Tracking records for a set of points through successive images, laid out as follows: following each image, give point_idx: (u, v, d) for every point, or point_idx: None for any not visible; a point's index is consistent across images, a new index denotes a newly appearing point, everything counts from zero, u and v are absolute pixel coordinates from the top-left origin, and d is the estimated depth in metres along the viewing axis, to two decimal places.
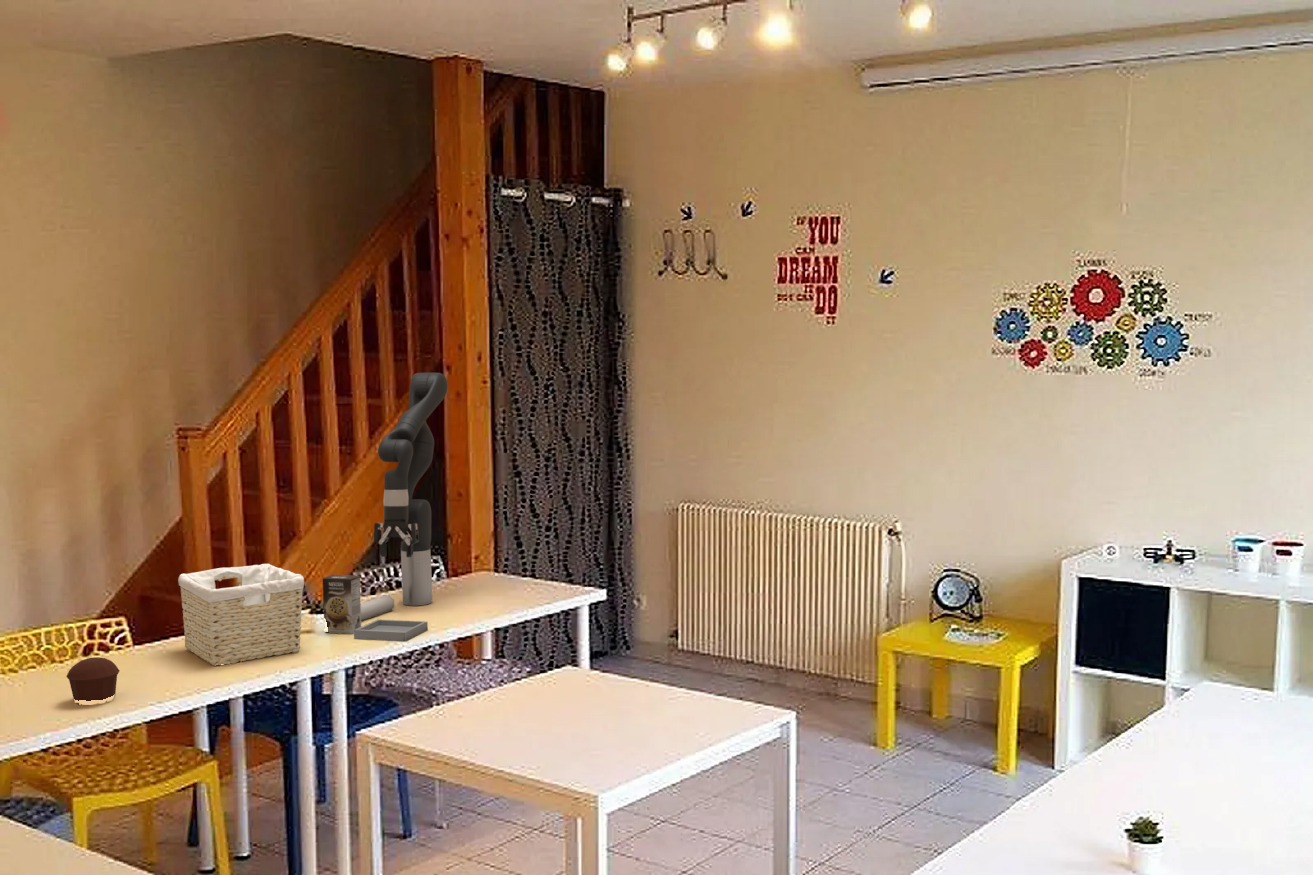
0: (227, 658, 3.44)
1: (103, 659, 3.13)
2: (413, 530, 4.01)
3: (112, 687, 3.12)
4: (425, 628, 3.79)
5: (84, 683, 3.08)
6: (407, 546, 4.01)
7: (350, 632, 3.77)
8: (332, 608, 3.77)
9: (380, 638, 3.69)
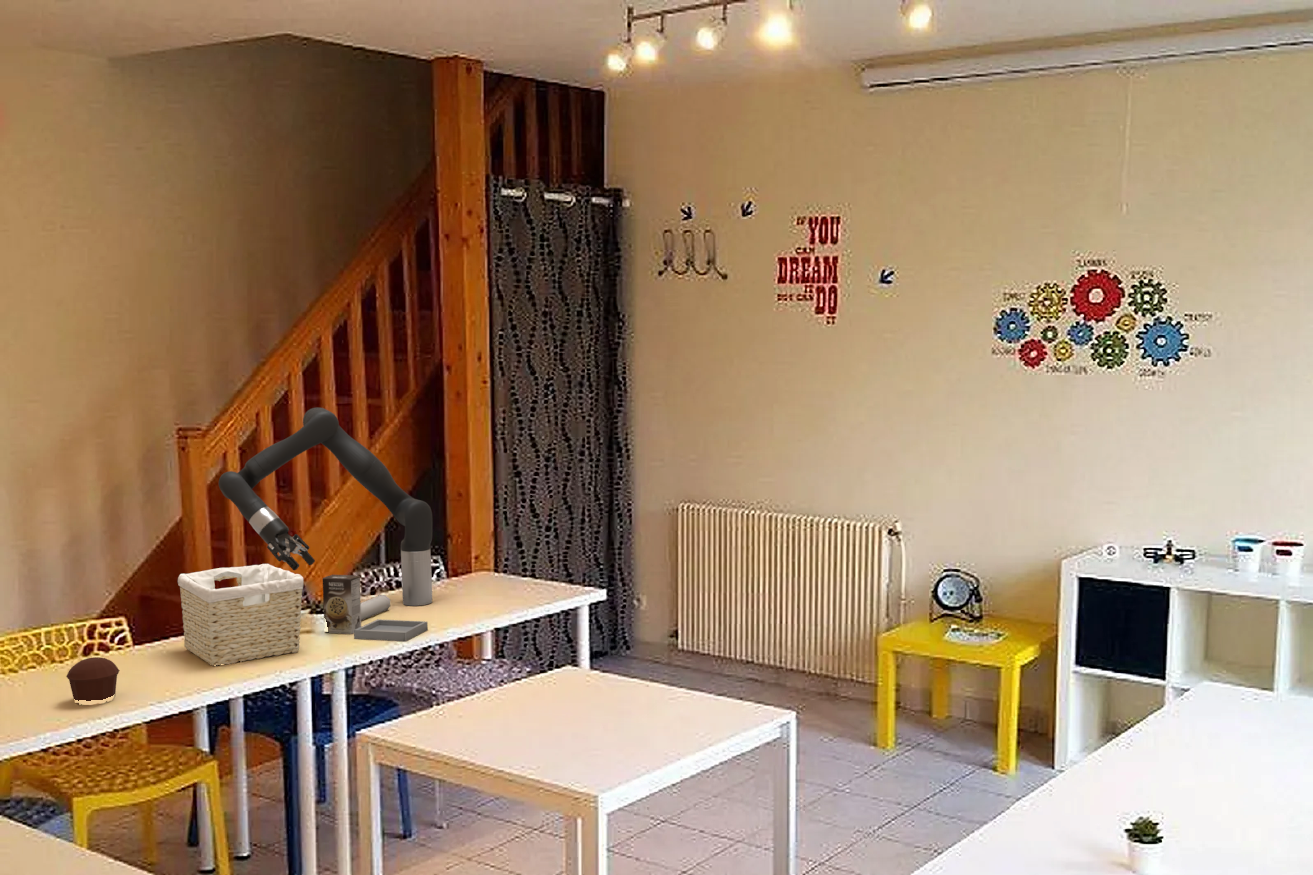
0: (226, 658, 3.44)
1: (103, 659, 3.13)
2: None
3: (112, 687, 3.12)
4: (425, 628, 3.79)
5: (84, 683, 3.08)
6: None
7: (350, 632, 3.77)
8: (332, 608, 3.77)
9: (380, 638, 3.69)
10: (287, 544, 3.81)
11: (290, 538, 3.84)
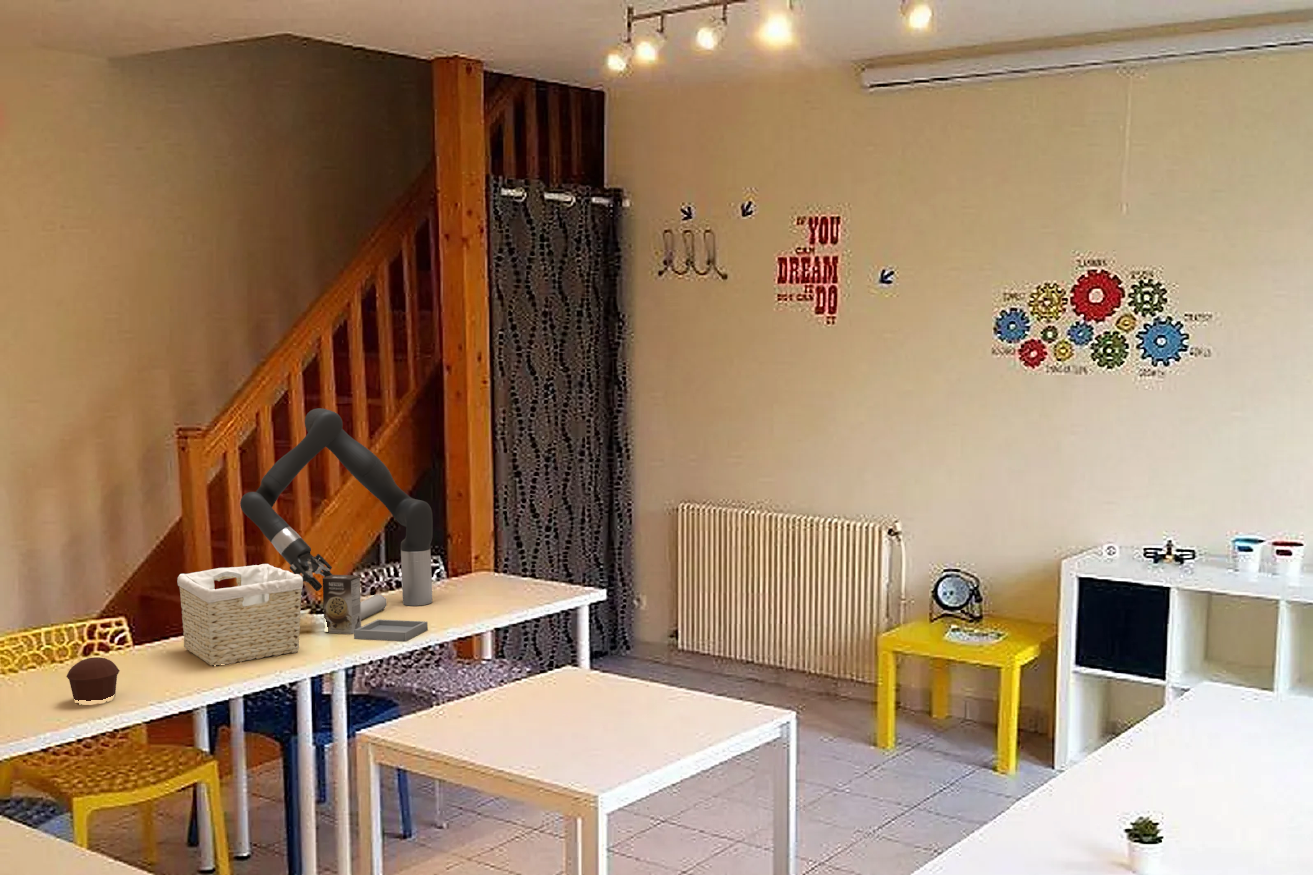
0: (226, 658, 3.44)
1: (103, 659, 3.13)
2: None
3: (112, 687, 3.12)
4: (425, 628, 3.79)
5: (84, 683, 3.08)
6: None
7: (350, 632, 3.77)
8: (332, 608, 3.77)
9: (380, 638, 3.69)
10: (309, 564, 3.79)
11: (312, 558, 3.83)
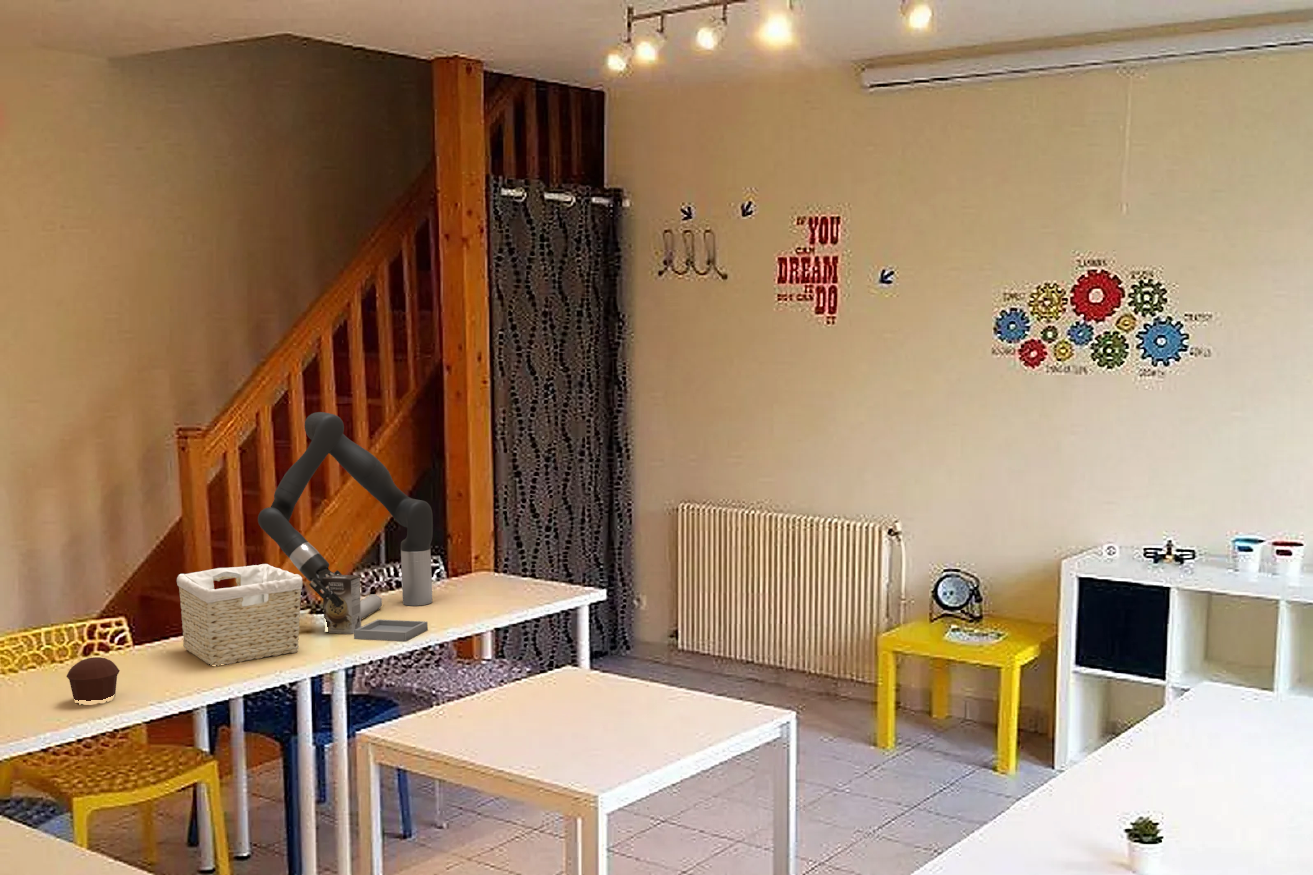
0: (225, 658, 3.44)
1: (103, 659, 3.13)
2: None
3: (112, 687, 3.12)
4: (425, 628, 3.79)
5: (84, 683, 3.08)
6: None
7: (350, 632, 3.77)
8: (332, 608, 3.77)
9: (380, 638, 3.69)
10: None
11: (331, 574, 3.81)
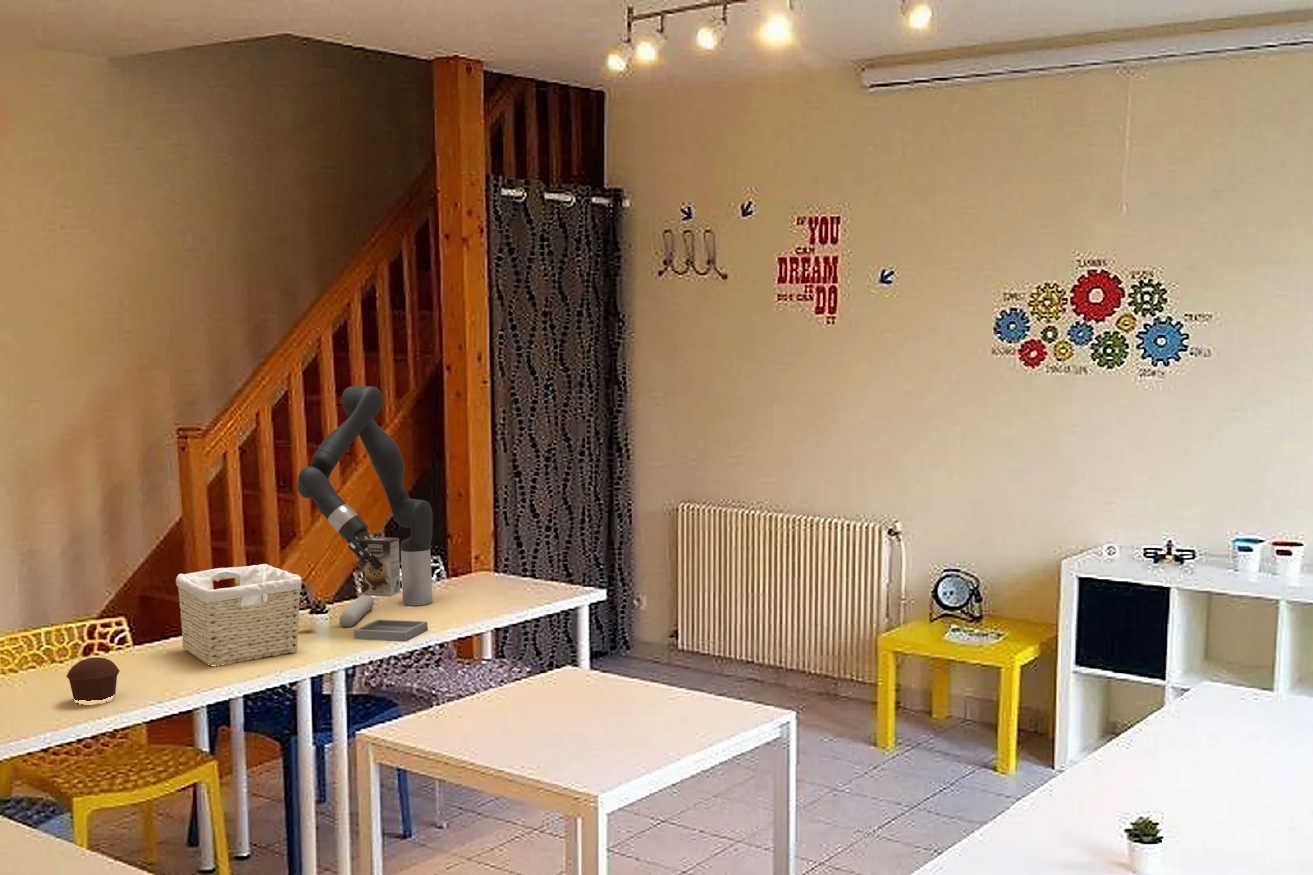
0: (224, 659, 3.44)
1: (103, 659, 3.13)
2: None
3: (112, 687, 3.12)
4: (425, 628, 3.79)
5: (84, 683, 3.08)
6: None
7: (389, 595, 3.71)
8: (371, 570, 3.72)
9: (380, 638, 3.69)
10: None
11: (369, 536, 3.76)
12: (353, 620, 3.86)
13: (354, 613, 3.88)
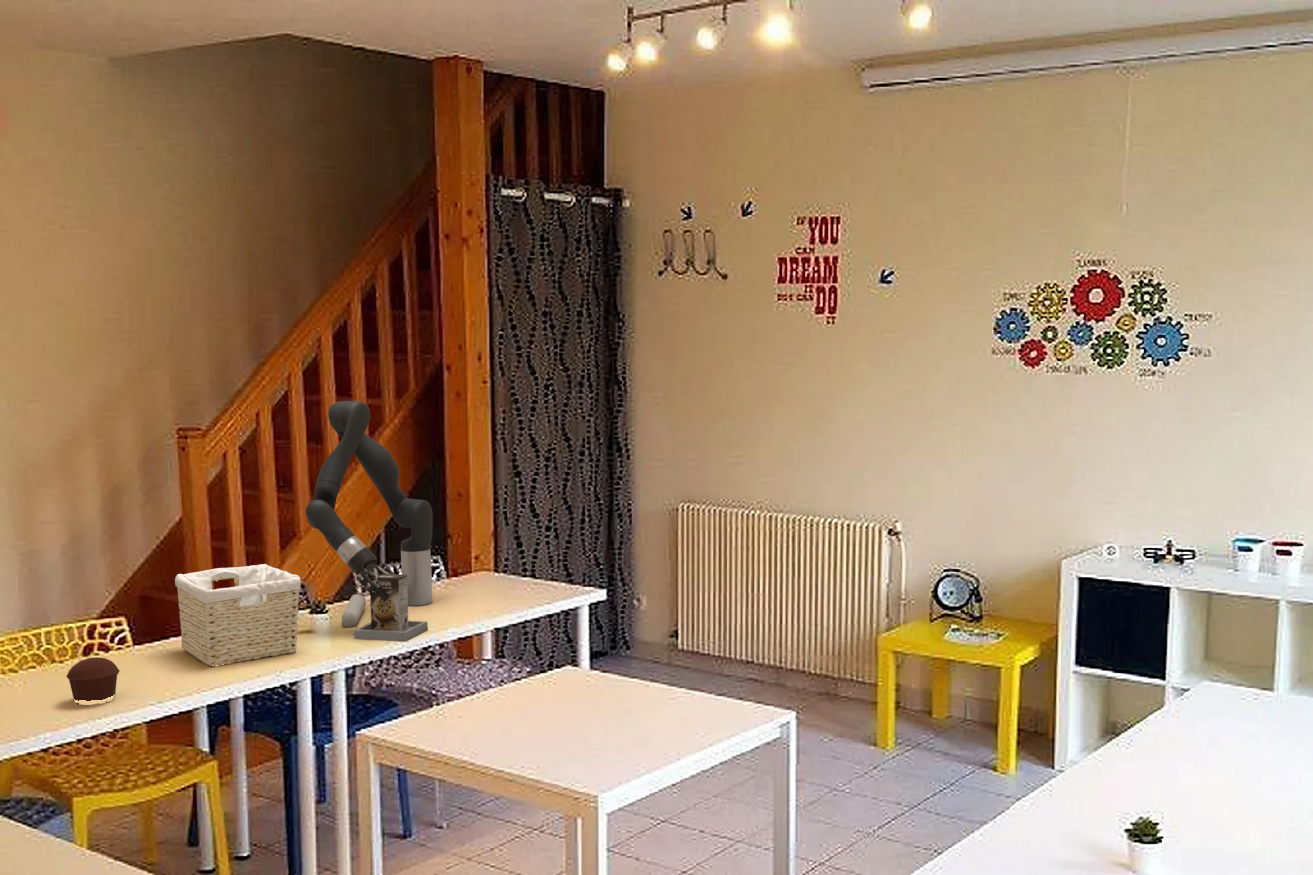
0: (223, 659, 3.44)
1: (103, 659, 3.13)
2: None
3: (112, 687, 3.12)
4: (425, 628, 3.79)
5: (84, 683, 3.08)
6: None
7: None
8: (379, 607, 3.72)
9: (380, 638, 3.69)
10: (376, 574, 3.73)
11: (378, 568, 3.76)
12: (356, 620, 3.86)
13: (356, 613, 3.88)
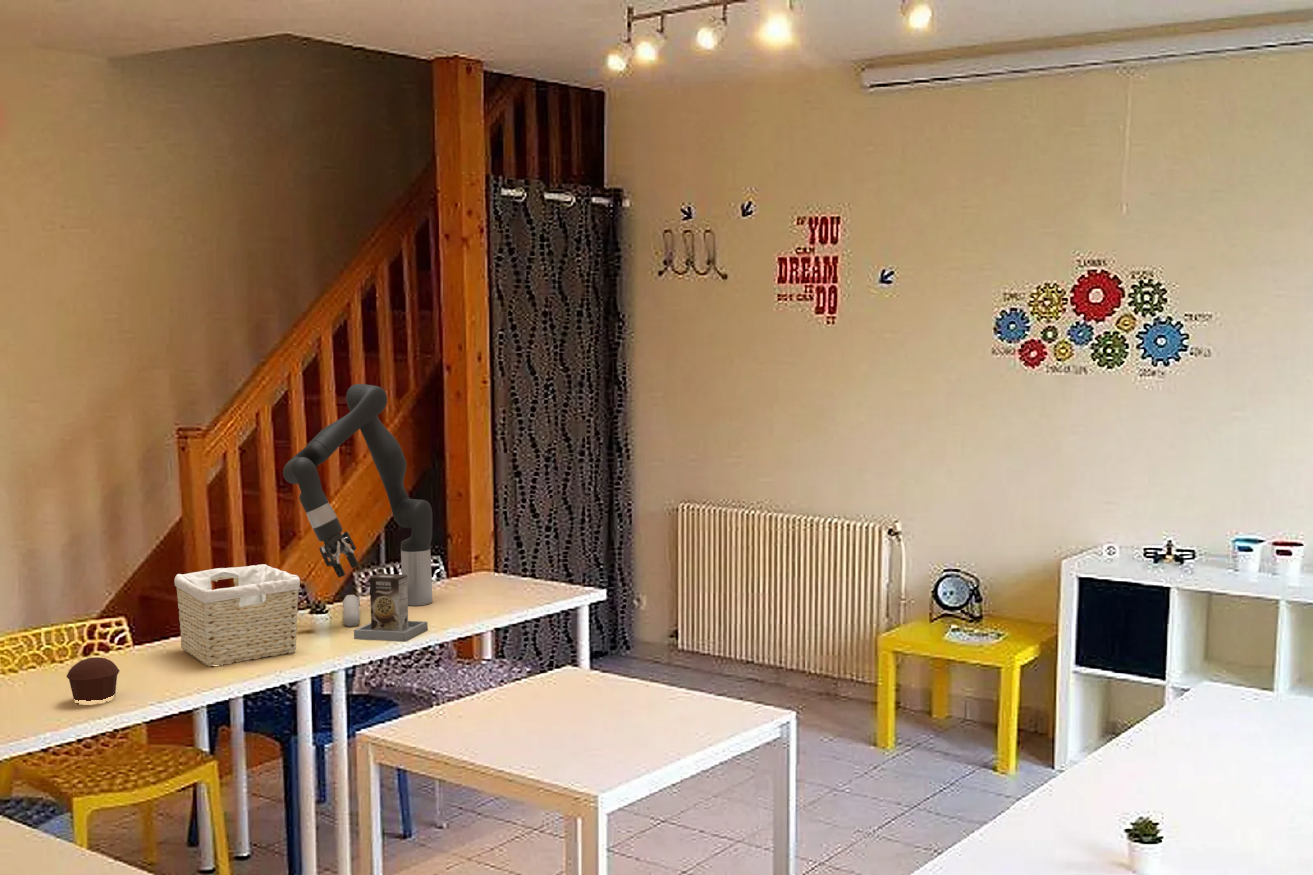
0: (222, 659, 3.44)
1: (103, 659, 3.13)
2: None
3: (112, 687, 3.12)
4: (425, 628, 3.79)
5: (84, 683, 3.08)
6: None
7: None
8: (379, 607, 3.72)
9: (380, 638, 3.69)
10: (338, 548, 3.79)
11: (342, 540, 3.81)
12: (358, 619, 3.87)
13: (357, 612, 3.89)
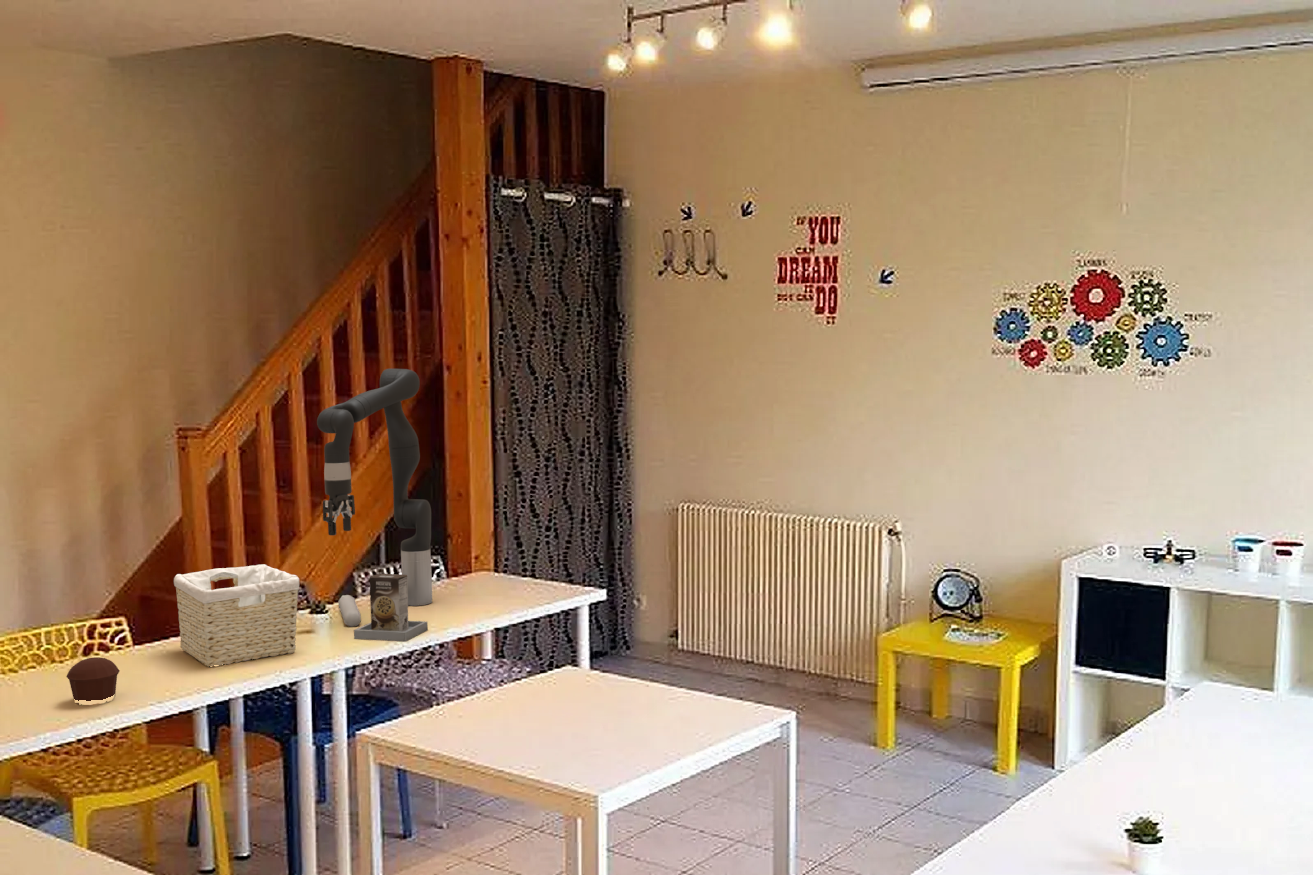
0: (222, 659, 3.44)
1: (103, 659, 3.13)
2: None
3: (112, 687, 3.12)
4: (425, 628, 3.79)
5: (84, 683, 3.08)
6: None
7: None
8: (379, 607, 3.72)
9: (380, 638, 3.69)
10: (340, 508, 3.80)
11: (346, 501, 3.82)
12: (359, 619, 3.87)
13: (358, 612, 3.89)
